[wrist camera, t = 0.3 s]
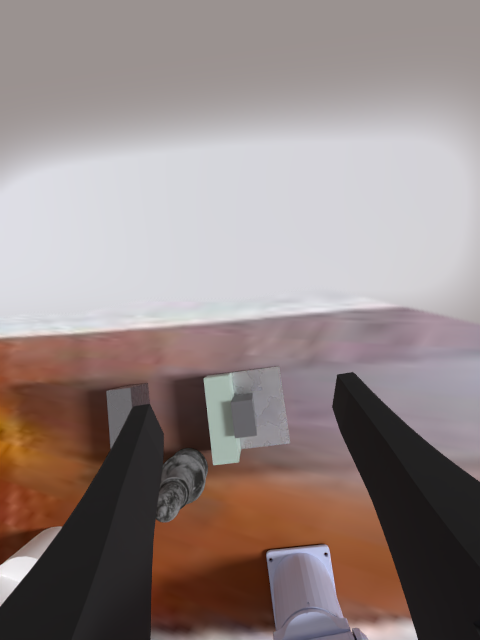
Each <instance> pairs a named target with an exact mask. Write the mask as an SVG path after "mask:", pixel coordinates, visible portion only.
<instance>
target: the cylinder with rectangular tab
mask: <svg viewBox="0 0 480 640" xmlns="http://www.w3.org/2000/svg"><path fill="white" fill-rule="evenodd" d="M61 528H62V527H51V528H48V529H46V530H43V531H42V532H41V533H39V534H38V535H37V536H35V537H34V538H33V539H32V540H31V541H29V542H28V543H27V544H26V545H24V546H23V547H22V548H21V549H20V550H18V551H17V552H16V553H15V554H14V555H12V556H11V557H10V558H9V559H8V560H6V561H5V562H4V563H3V564H1V565H0V606H1V605H2V604H3V602H4V601H5V600H6V599H7V598H8V596H9V595H10V594H11V593H12V591H13V590H14V589H15V588H16V587H17V585H18V584H19V583H20V582H21V581H22V579H23V578H24V577H25V576H26V575H27V573H28V572H29V571H30V570H31V568H32V567H33V566H34V564H35V563H36V562H37V561H38V559H39V558H40V557H41V555H42V554H43V553H44V551H45V550H46V549H47V547H48V546H49V545H50V543H51V542H52V541H53V539H54V538H55V537H56V535H57V534H58V532H59V531H60V530H61Z"/></svg>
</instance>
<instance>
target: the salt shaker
mask: <svg viewBox="0 0 480 640" xmlns="http://www.w3.org/2000/svg"><path fill="white" fill-rule="evenodd" d="M207 472H208V465H207V461H206V459H205V457H204V456H203V455H202V454H201V453H200V452H199V451H197V450H195V449H192V448H185V449H181V450H180V451H178V452H177V453H176V454H175V455H174V456H173V457H171V458H169V459H168V460H167V461H166V462H165V463H164V464H163V467H162V475H161V482H160V490H159V497H158V505H157V512H156V519H157V520H158V521H160V522H169V521H171V520H172V519H174V518H175V517H176V515H177V514H178V512H179V510H180V509H181V508H183V507H184V506H185V505H186V504H189V503H191V502H193V501H195V500H196V499H197V498H198V497H199V496H200V495H201V493H202V491H203V490H204V486H205V478H206V476H207Z"/></svg>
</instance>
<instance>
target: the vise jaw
mask: <svg viewBox="0 0 480 640" xmlns="http://www.w3.org/2000/svg"><path fill="white" fill-rule="evenodd" d="M204 387H205V396H206V405H207V414H208V423H209V432H210V440H211V449H212V458H213V465H219V464H228V463H237V462H239V458H240V452H241V447H240V439H239V438H243V437H251V436H257V422H256V414H255V407H254V399H253V393H250V394H242V395H234V390H233V382H232V374H231V373H226V374H219V375H211V376H208V377H205V378H204Z"/></svg>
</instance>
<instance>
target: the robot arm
mask: <svg viewBox="0 0 480 640" xmlns="http://www.w3.org/2000/svg"><path fill="white" fill-rule="evenodd" d="M332 408H333V411H334V414H335V417H336V420H337V423H338V426H339V429H340V432H341V434H342V436H343V439H344V441H345V443H346V445H347V447H348V449H349V452H350V454H351V456H352V458H353V460H354V462H355V464H356V467H357V469H358V471H359V473H360V475H361V477H362V479H363V482H364V484H365V486H366V488H367V490H368V492H369V495H370V497H371V500H372V502H373V505H374V507H375V510H376V513H377V515H378V518H379V521H380V524H381V526H382V529H383V532H384V535H385V538H386V541H387V543H388V546H389V549H390V552H391V555H392V558H393V561H394V564H395V567H396V570H397V573H398V576H399V579H400V582H401V585H402V588H403V591H404V594H405V598H406V601H407V604H408V608H409V611H410V614H411V617H412V621H413V624H414V627H415V630H416V634H417V637H418V640H480V482H479V481H478V480H476V479H475V478H474V477H472V476H471V475H469V474H468V473H467V472H465V471H464V470H463V469H461V468H460V467H458V466H457V465H456V464H454V463H453V462H452V461H451V460H449V459H448V458H447V457H445V456H444V455H443V454H441V453H440V452H439V451H438V450H436V449H435V448H434V447H433V446H432V445H430V444H429V443H428V442H427V441H425V440H424V439H423V438H422V437H421V436H420V435H418V434H417V433H416V432H415V431H414V430H413V429H411V428H410V427H409V426H408V425H407V424H406V423H405V422H404V421H403V420H401V419H400V418H399V417H398V416H397V415H396V414H395V413H394V412H393V411H392V410H391V409H390V408H389V407H388V406H387V405H385V404H384V403H383V402H382V401H381V400H380V399H379V398H378V397H377V396H376V395H375V394H374V393H373V392H372V391H371V390H370V389H369V388H368V387H367V386H366V385H365V384H364V383H363V381H362V380H361V379H360V378H359V377H358V376H357V375H356V374H355V373H353V372H351V373H345V374H338V375H337V380H336V386H335V393H334V399H333V406H332ZM163 450H164V433H163V431H162V429H161V427H160V425H159V423H158V420H157V418H156V416H155V414H154V412H153V410H152V407H151V405H150V404H145V405H138V406H133V408H132V409H131V411H130V413H129V415H128V417H127V419H126V421H125V423H124V425H123V427H122V429H121V431H120V433H119V435H118V437H117V439H116V441H115V442H114V444H113V446H112V448H111V450H110V452H109V453H108V455H107V457H106V459H105V461H104V462H103V464H102V466H101V468H100V469H99V471H98V473H97V474H96V476H95V478H94V479H93V481H92V483H91V484H90V486H89V488H88V489H87V491H86V492H85V494H84V496H83V497H82V499H81V500H80V502H79V503H78V505H77V506H76V508H75V509H74V511H73V512H72V514H71V515H70V517H69V518H68V520H67V521H66V523H65V524H64V525H63V527H62V528H61V530H60V531H59V532H58V534H57V535H56V537H55V538H54V539H53V541H52V542H51V543H50V545H49V546H48V547H47V549H46V550H45V551H44V553H43V554H42V555H41V557H40V558H39V559H38V561H37V562H36V563H35V564H34V566H33V567H32V568H31V570H30V571H29V572H28V573H27V575H26V576H25V577H24V578H23V579H22V581H21V582H20V583H19V584H18V585H17V587H16V588H15V589H14V590H13V591H12V593H11V594H10V595H9V596H8V598H7V599H6V600H5V601H4V602H3V604H2V605H1V606H0V640H150V635H151V585H152V558H153V539H154V528H155V520H156V512H157V505H158V497H159V490H160V482H161V475H162V467H163ZM324 553H327V555H324ZM266 557H267V565H268V572H269V580H270V588H271V596H272V603H273V611H274V619H275V627H276V631H275V632H273V637H274V640H368V638H367V637H366V635H364V634H363V633H362V632H361V631H360V629H359V628H353V629H352V632H351V630H350V627H349V624H348V621H347V619H346V618H343V615H342V612H341V609H340V606H339V603H338V599H337V596H336V591H335V584H334V578H333V571H332V564H331V558H330V551H329V548H328V546H327V545H325V544H324V545H314V546H304V547H295V548H285V549H275V550H268V551H267V553H266ZM270 558H272V560H269V559H270ZM352 633H353V634H352Z"/></svg>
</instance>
